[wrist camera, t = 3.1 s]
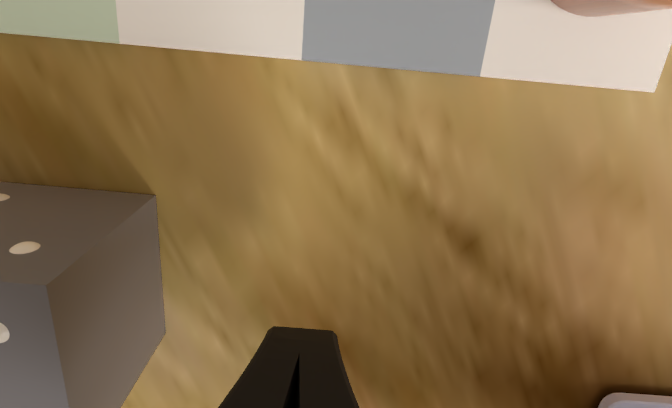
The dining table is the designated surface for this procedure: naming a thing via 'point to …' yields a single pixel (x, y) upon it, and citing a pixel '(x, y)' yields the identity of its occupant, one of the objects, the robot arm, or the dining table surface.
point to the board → (378, 34)
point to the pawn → (611, 6)
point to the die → (76, 295)
